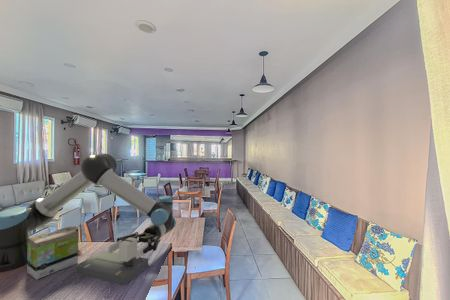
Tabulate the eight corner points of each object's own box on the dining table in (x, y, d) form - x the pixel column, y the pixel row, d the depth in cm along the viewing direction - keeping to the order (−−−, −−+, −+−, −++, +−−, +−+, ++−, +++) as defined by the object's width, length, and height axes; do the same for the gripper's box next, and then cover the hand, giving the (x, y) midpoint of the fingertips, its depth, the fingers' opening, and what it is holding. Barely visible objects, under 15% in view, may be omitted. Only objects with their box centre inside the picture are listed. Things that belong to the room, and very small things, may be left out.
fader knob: (119, 267, 88) (119, 242, 87) (129, 260, 93) (129, 236, 93) (127, 269, 86) (127, 244, 86) (137, 261, 92) (137, 238, 92)
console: (75, 273, 89) (75, 265, 89) (103, 256, 103) (103, 250, 103) (124, 285, 82) (124, 277, 82) (148, 265, 95) (148, 258, 95)
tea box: (36, 281, 84) (36, 243, 84) (26, 272, 89) (26, 237, 89) (78, 263, 97) (78, 230, 96) (68, 257, 102) (68, 226, 102)
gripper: (176, 243, 103) (149, 267, 83) (133, 236, 111) (98, 256, 90) (176, 227, 103) (149, 248, 83) (133, 222, 111) (98, 239, 90)
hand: (122, 252), depth 87 cm, fingers open, 13 cm apart
